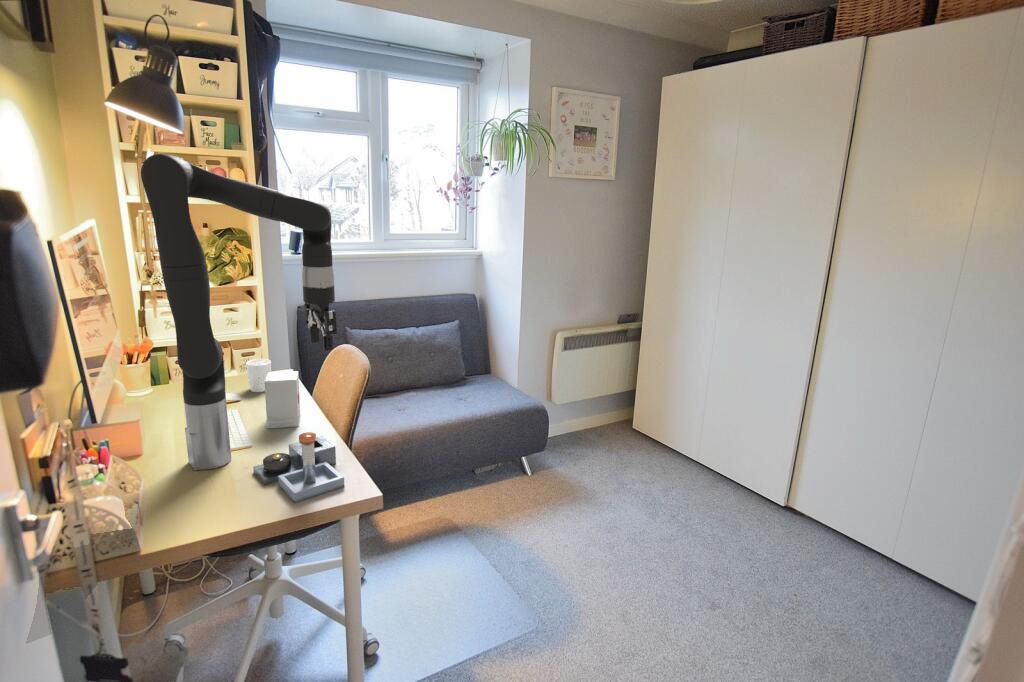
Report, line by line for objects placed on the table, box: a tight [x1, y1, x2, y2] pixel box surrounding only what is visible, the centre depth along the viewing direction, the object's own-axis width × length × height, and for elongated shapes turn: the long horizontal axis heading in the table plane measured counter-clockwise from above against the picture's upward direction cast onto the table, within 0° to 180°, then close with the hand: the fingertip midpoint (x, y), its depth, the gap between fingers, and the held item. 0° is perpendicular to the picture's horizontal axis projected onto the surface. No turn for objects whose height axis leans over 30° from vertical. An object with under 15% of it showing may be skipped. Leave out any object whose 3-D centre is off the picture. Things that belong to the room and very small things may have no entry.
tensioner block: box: [253, 435, 337, 486], centre depth 140 cm, size 18×8×5 cm, turn 132°
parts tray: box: [277, 462, 345, 504], centre depth 132 cm, size 12×10×2 cm
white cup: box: [245, 358, 272, 393], centre depth 192 cm, size 8×8×10 cm
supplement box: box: [264, 370, 301, 429], centre depth 166 cm, size 9×9×15 cm
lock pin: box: [298, 431, 317, 485], centre depth 132 cm, size 4×4×12 cm
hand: (321, 346), depth 142 cm, fingers open, 8 cm apart
